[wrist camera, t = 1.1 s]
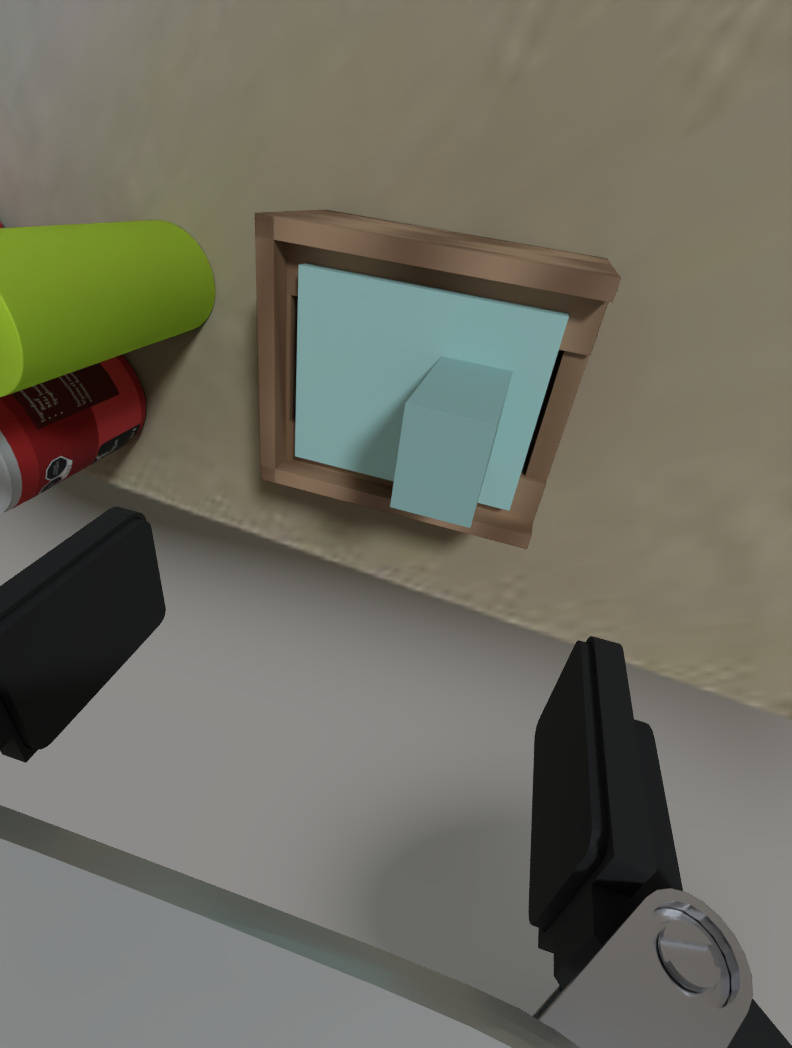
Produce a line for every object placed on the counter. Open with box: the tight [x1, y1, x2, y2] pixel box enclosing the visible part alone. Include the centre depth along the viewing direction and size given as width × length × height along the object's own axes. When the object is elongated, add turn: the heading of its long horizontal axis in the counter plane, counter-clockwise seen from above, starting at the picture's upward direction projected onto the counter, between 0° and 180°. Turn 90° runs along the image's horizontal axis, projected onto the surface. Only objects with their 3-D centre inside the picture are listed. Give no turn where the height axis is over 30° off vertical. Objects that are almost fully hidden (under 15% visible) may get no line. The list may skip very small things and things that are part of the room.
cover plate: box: [295, 263, 569, 528], centre depth 20 cm, size 11×9×7 cm
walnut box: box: [255, 210, 621, 549], centre depth 25 cm, size 14×12×7 cm
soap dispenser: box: [0, 220, 215, 397], centre depth 22 cm, size 6×7×20 cm
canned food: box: [0, 355, 146, 514], centre depth 31 cm, size 8×8×11 cm
